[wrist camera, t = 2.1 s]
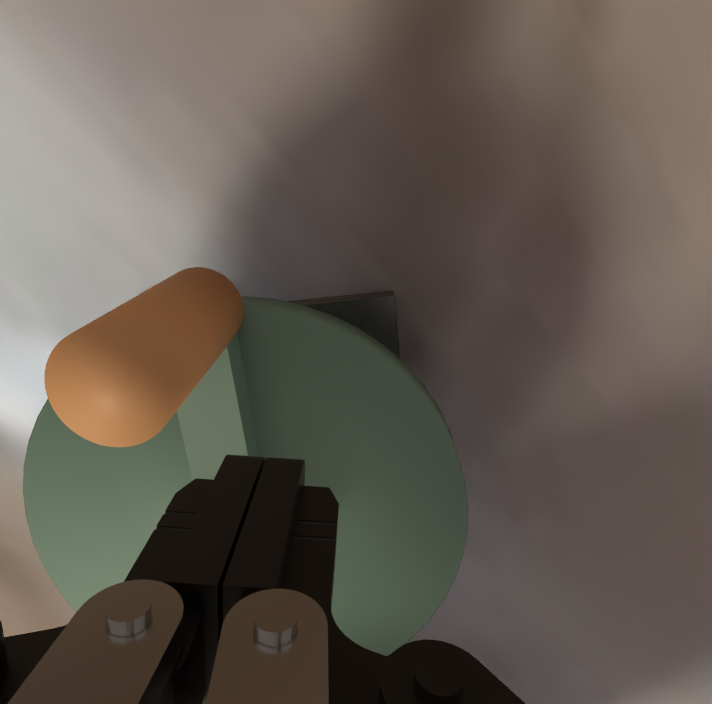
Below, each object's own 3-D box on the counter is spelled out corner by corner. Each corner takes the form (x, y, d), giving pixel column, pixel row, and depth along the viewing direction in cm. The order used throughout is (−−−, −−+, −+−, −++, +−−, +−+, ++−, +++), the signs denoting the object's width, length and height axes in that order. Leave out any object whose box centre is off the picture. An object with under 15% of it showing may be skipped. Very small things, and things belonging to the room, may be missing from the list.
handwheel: (470, 645, 27) (519, 880, 18) (105, 669, 28) (-16, 901, 19) (445, 233, 21) (500, 285, 12) (-20, 283, 22) (-282, 365, 13)
